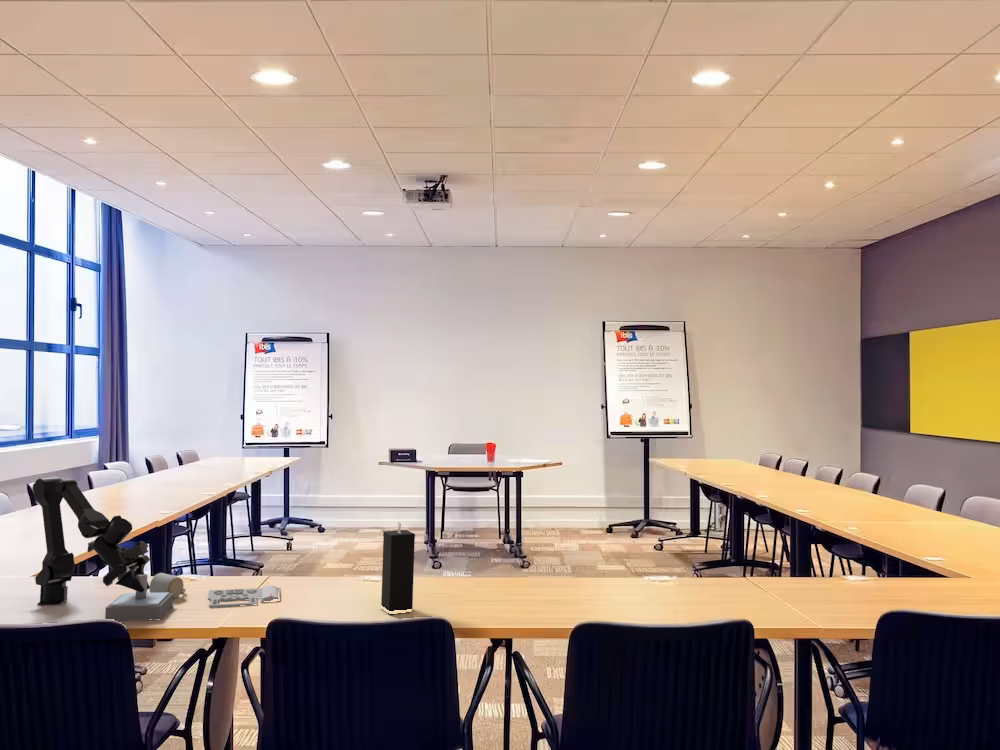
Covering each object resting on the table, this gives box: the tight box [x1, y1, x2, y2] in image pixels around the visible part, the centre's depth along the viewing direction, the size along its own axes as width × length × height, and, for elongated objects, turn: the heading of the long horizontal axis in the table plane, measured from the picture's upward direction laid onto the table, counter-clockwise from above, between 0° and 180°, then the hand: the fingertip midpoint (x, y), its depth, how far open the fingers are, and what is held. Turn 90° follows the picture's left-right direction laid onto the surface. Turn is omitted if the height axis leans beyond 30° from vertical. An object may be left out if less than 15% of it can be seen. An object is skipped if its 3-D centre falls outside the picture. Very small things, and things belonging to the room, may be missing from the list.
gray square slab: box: [104, 593, 174, 622], centre depth 224 cm, size 15×15×4 cm
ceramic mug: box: [148, 572, 186, 600], centre depth 244 cm, size 11×8×8 cm
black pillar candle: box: [380, 521, 416, 611], centre depth 234 cm, size 8×8×28 cm
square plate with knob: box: [110, 573, 169, 607], centre depth 224 cm, size 13×13×8 cm
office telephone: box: [207, 584, 282, 609], centre depth 244 cm, size 23×3×20 cm
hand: (145, 590), depth 224 cm, fingers closed on square plate with knob, 3 cm apart
